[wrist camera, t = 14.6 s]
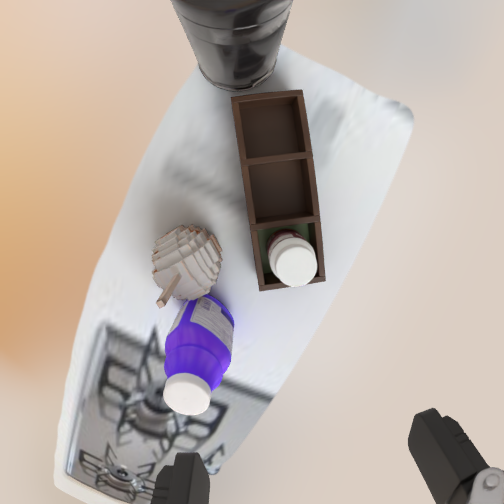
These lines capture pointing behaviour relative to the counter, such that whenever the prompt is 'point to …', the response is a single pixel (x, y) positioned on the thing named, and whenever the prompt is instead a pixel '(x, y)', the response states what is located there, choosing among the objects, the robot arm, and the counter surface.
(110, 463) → the counter surface
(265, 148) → the organiser
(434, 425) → the robot arm
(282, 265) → the pill bottle
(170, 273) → the decorative ornament
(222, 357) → the bottle
